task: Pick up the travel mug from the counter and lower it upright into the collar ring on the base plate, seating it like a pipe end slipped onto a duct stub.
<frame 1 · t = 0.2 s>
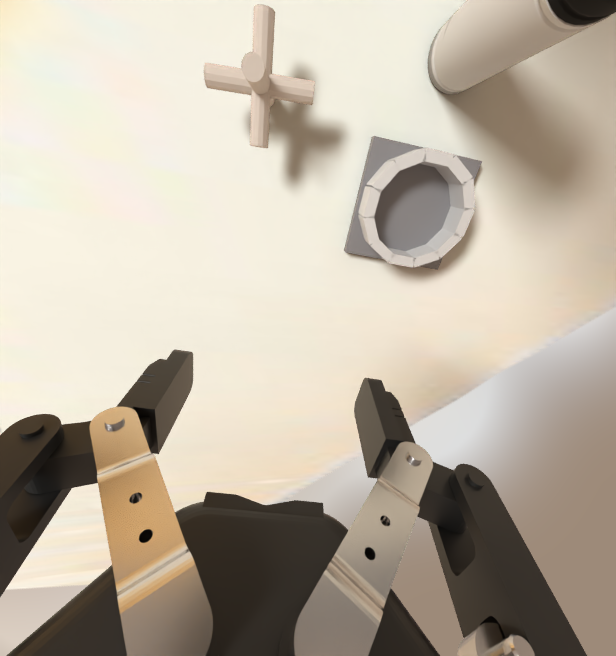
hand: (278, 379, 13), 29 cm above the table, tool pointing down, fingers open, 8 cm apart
duct collar: (406, 208, 37), on the table
travel mug: (454, 58, 30), on the table
pipe connector: (267, 97, 32), on the table
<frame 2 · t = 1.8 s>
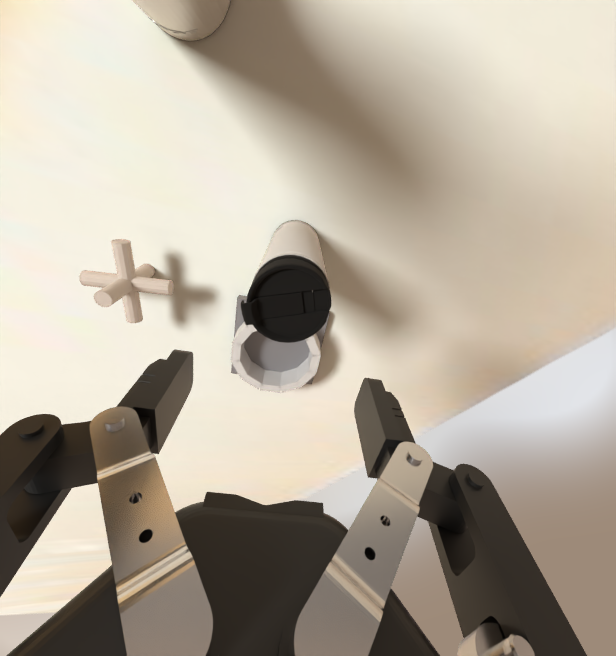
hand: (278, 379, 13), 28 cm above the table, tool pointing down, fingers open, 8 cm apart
duct collar: (278, 340, 45), on the table
travel mug: (294, 244, 38), on the table
pipe connector: (148, 269, 39), on the table
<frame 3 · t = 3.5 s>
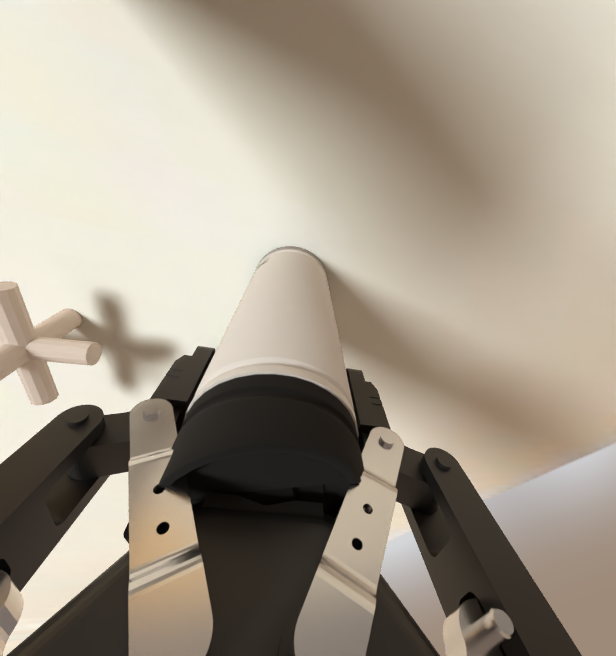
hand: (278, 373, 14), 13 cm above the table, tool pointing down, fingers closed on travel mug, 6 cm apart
travel mug: (289, 281, 25), on the table, touching gripper
pipe connector: (72, 316, 26), on the table
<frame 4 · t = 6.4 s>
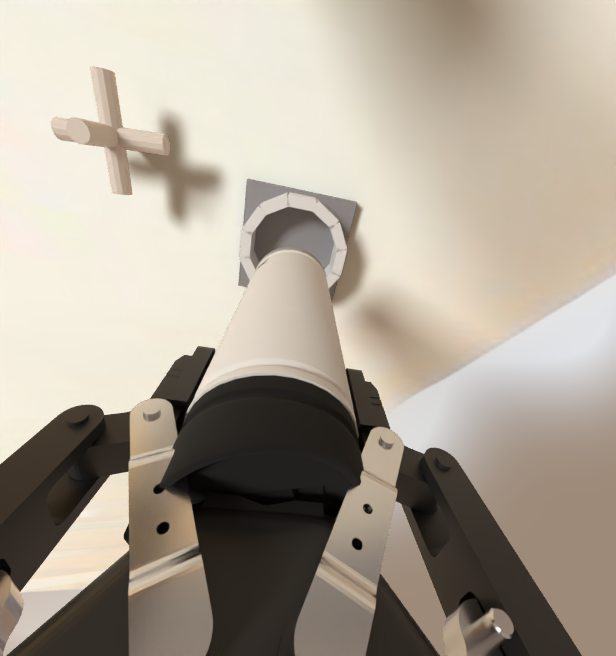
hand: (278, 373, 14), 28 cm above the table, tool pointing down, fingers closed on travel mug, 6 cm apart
duct collar: (294, 244, 38), on the table
travel mug: (288, 281, 25), point 15 cm above the table, touching gripper
pipe connector: (139, 141, 32), on the table
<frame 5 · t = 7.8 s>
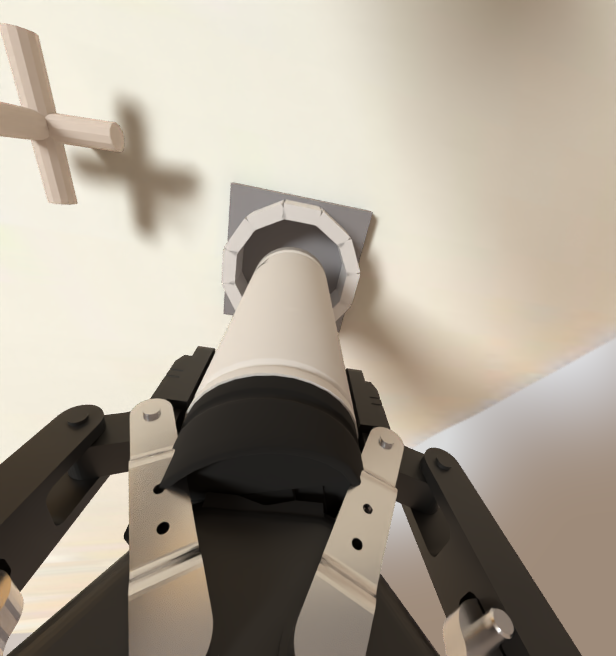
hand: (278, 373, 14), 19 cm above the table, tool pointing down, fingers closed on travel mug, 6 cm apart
duct collar: (292, 264, 30), on the table
travel mug: (288, 281, 25), point 6 cm above the table, touching gripper
pipe connector: (91, 134, 25), on the table
when the fingers open (15 cm above the table, at t = 9.1 s): travel mug drops 1 cm, resting on duct collar.
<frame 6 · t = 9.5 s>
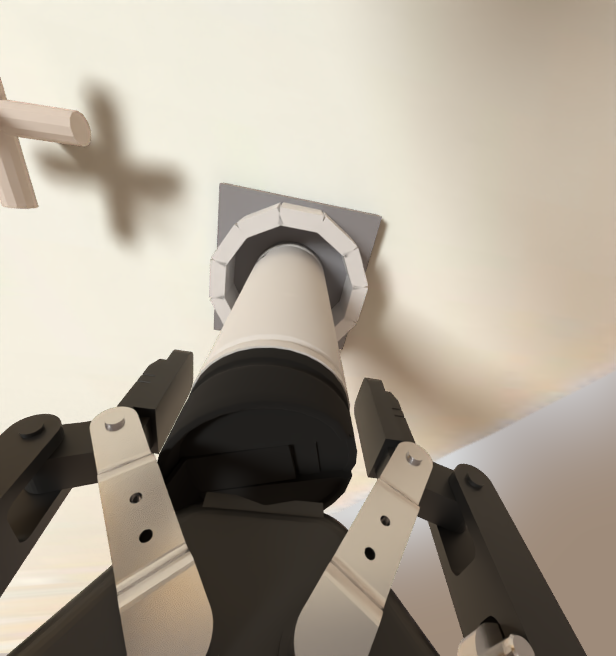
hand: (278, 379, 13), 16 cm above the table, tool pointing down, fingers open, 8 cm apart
duct collar: (290, 274, 27), on the table
travel mug: (287, 275, 26), point 1 cm above the table, touching duct collar
pipe connector: (57, 127, 22), on the table
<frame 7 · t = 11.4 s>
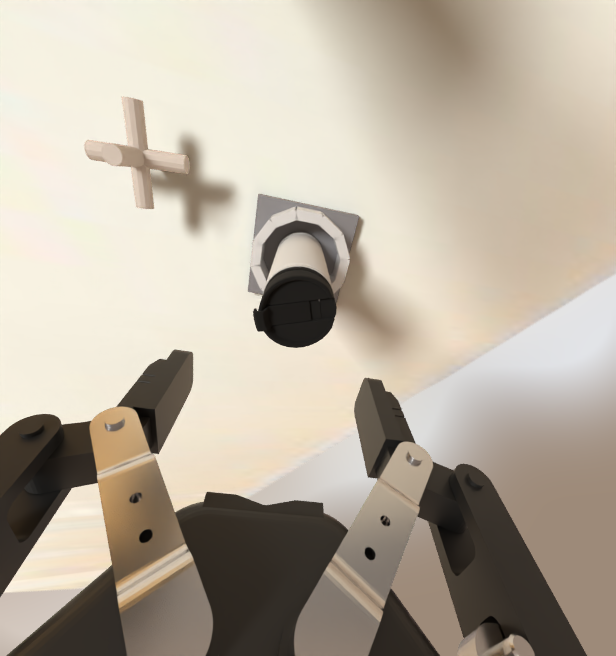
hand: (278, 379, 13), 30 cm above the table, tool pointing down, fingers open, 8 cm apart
duct collar: (300, 253, 41), on the table
travel mug: (298, 254, 40), point 1 cm above the table, touching duct collar
pipe connector: (160, 159, 35), on the table
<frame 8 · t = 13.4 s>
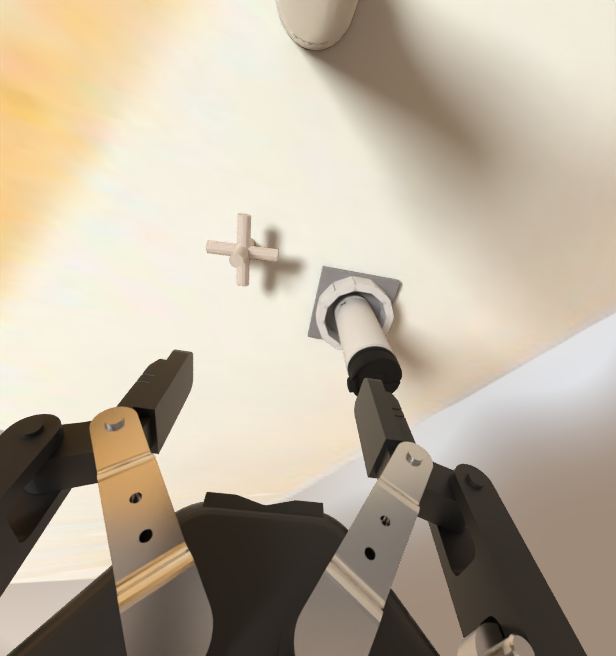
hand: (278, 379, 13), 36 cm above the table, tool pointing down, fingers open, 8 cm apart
duct collar: (350, 308, 52), on the table
travel mug: (350, 309, 51), point 1 cm above the table, touching duct collar
pipe connector: (249, 243, 46), on the table
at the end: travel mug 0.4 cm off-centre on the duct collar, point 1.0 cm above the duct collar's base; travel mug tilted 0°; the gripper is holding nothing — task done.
